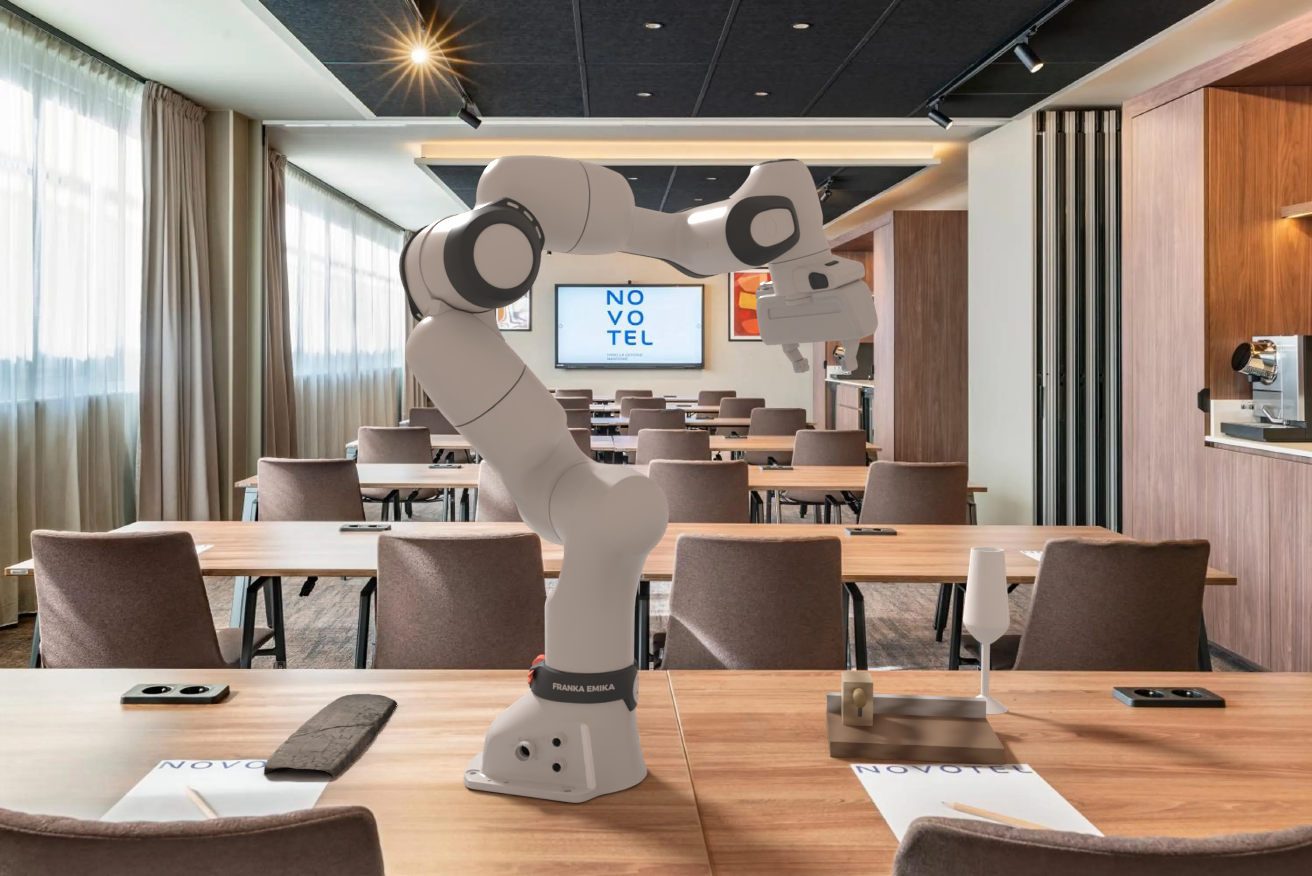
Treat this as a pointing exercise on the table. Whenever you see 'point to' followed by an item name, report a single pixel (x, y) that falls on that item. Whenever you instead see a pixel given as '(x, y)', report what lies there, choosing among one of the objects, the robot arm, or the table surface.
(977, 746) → the walnut board
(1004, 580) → the champagne flute
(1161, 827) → the table surface
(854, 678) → the marking gauge
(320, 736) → the stone slab
